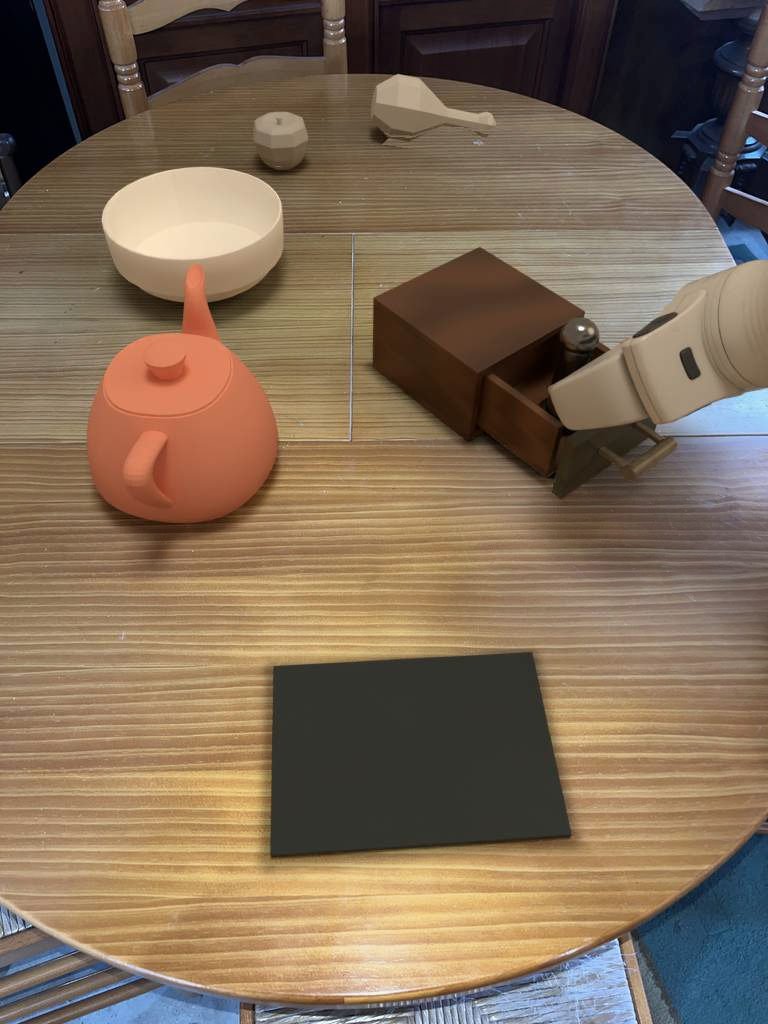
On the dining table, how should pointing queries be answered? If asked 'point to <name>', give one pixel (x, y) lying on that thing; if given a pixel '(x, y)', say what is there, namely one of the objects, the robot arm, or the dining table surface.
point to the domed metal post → (572, 356)
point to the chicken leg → (418, 110)
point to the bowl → (195, 231)
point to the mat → (411, 755)
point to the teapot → (181, 423)
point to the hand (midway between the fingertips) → (592, 370)
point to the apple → (280, 139)
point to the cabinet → (461, 331)
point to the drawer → (558, 425)
